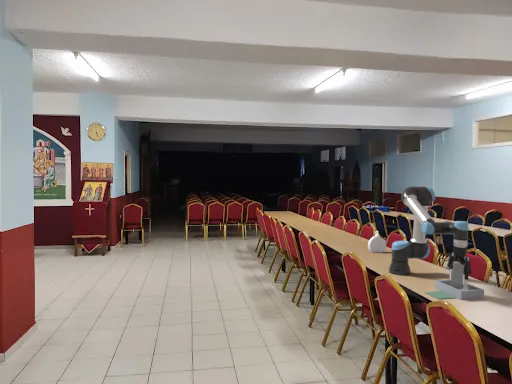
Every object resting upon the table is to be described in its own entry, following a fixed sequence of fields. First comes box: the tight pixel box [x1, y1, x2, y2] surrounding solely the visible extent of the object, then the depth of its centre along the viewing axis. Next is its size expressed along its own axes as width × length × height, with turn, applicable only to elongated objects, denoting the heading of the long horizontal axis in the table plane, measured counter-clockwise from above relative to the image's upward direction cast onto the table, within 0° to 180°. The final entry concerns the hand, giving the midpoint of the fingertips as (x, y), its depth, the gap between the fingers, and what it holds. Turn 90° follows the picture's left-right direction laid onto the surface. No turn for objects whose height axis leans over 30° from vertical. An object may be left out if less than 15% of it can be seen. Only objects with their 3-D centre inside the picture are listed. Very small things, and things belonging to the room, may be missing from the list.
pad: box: [424, 290, 456, 300], centre depth 220 cm, size 12×12×1 cm
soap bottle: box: [367, 230, 387, 254], centre depth 344 cm, size 16×5×20 cm, turn 94°
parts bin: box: [434, 279, 485, 301], centre depth 225 cm, size 22×16×5 cm
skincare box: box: [450, 261, 465, 290], centre depth 225 cm, size 8×7×16 cm
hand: (458, 281), depth 226 cm, fingers closed on skincare box, 10 cm apart
